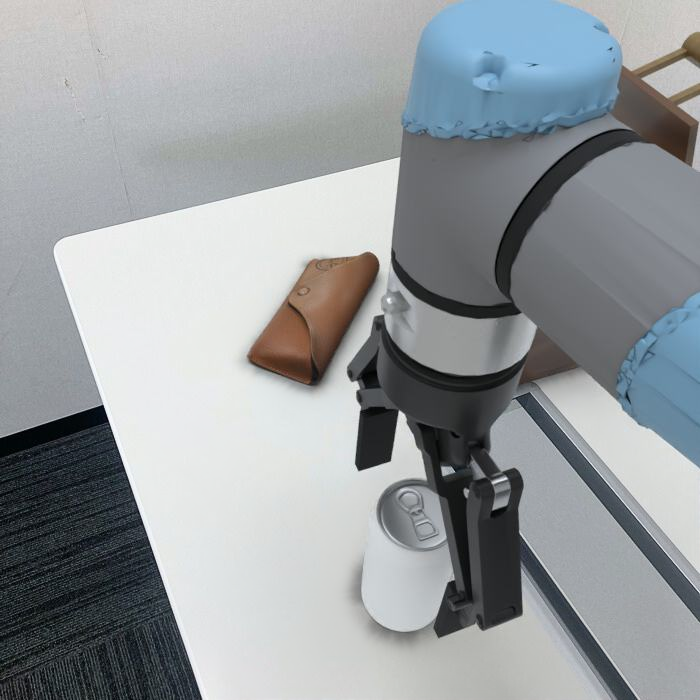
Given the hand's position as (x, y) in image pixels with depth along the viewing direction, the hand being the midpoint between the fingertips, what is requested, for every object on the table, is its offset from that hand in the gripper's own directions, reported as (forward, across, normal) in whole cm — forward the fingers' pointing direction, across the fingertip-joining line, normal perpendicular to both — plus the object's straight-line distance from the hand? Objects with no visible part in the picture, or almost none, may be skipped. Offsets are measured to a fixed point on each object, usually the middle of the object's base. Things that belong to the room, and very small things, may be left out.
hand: (410, 538), depth 53 cm
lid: (-10, -24, +32) cm, 41 cm away
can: (+8, 0, 0) cm, 8 cm away
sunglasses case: (+9, -31, +4) cm, 33 cm away
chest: (+8, -24, +26) cm, 36 cm away
